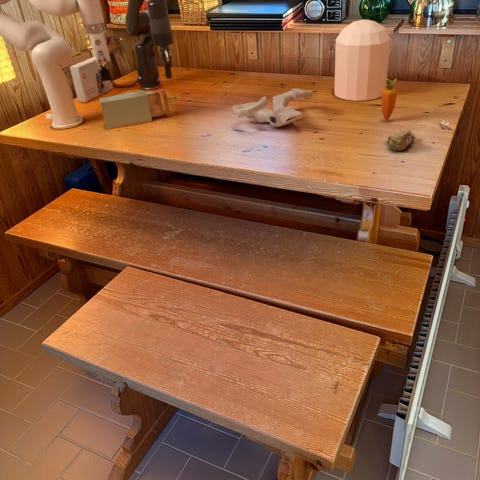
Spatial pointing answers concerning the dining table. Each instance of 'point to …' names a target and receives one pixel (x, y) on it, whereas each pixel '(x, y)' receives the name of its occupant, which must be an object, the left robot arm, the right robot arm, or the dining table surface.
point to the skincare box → (88, 80)
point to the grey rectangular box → (125, 109)
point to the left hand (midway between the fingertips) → (106, 77)
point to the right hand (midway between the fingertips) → (169, 78)
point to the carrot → (388, 99)
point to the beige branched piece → (280, 112)
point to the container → (361, 61)
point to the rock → (400, 140)
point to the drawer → (160, 103)
